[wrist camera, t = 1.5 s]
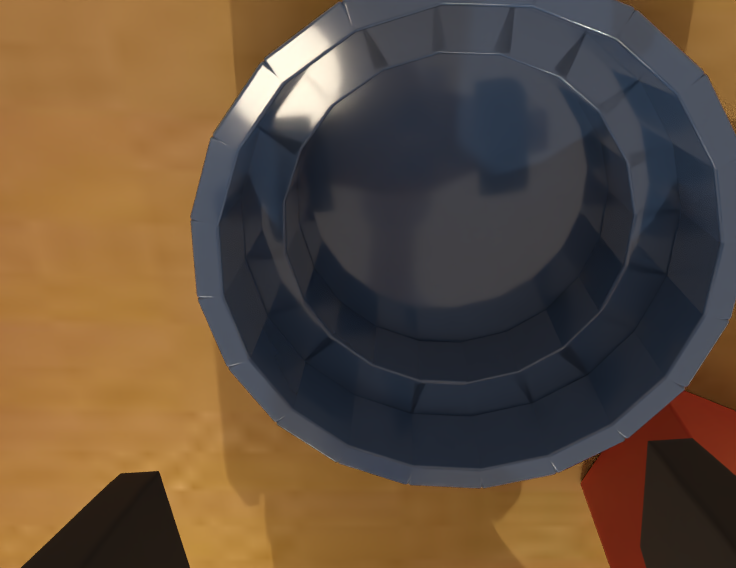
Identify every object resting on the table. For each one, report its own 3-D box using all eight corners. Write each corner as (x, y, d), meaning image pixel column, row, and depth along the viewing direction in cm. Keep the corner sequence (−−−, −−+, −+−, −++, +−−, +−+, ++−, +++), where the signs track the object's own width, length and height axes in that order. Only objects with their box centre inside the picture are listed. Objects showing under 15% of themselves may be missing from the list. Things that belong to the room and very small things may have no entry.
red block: (777, 426, 21) (911, 584, 15) (696, 527, 23) (790, 700, 17) (652, 376, 20) (744, 520, 15) (578, 483, 22) (636, 647, 17)
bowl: (753, 164, 18) (875, 227, 13) (470, 439, 22) (488, 561, 17) (418, -136, 15) (425, -187, 11) (167, 231, 19) (94, 309, 15)
